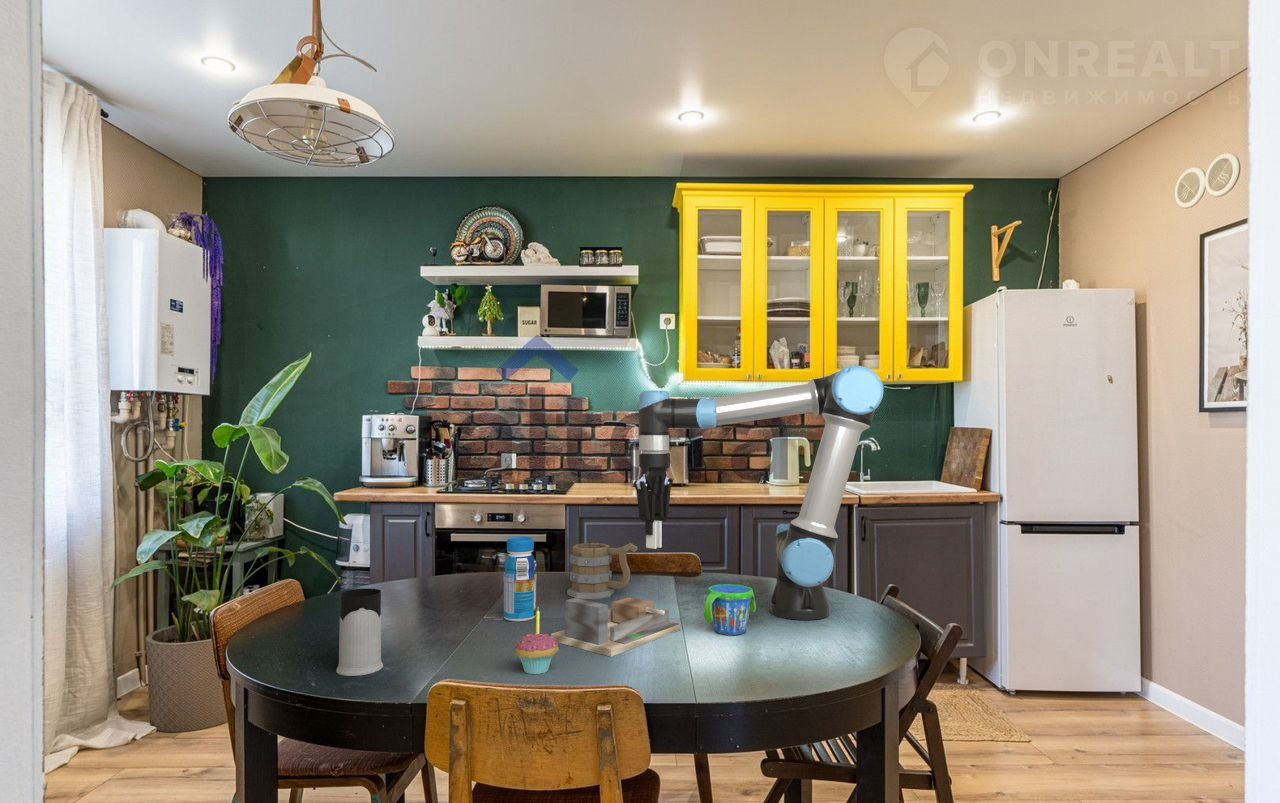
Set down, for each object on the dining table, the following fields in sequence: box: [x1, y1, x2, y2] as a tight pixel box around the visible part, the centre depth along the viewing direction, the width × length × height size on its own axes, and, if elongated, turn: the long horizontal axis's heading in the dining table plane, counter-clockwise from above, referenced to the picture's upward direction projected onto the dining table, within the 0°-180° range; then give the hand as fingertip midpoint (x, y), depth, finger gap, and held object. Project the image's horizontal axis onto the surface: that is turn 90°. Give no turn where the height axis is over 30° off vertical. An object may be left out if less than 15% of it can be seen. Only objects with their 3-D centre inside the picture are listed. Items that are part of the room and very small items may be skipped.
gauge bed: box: [550, 597, 681, 658], centre depth 164 cm, size 18×25×10 cm
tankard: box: [566, 542, 639, 601], centre depth 204 cm, size 20×13×15 cm, turn 80°
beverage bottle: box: [502, 536, 538, 623], centre depth 179 cm, size 8×8×20 cm
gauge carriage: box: [612, 596, 665, 623], centre depth 167 cm, size 13×6×5 cm, turn 51°
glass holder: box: [335, 587, 384, 677], centre depth 144 cm, size 9×14×15 cm, turn 24°
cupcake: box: [515, 606, 560, 675], centre depth 140 cm, size 9×8×12 cm
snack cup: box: [703, 583, 757, 636], centre depth 167 cm, size 16×10×10 cm
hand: (653, 547), depth 176 cm, fingers closed
